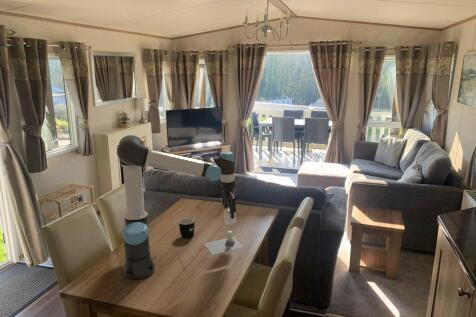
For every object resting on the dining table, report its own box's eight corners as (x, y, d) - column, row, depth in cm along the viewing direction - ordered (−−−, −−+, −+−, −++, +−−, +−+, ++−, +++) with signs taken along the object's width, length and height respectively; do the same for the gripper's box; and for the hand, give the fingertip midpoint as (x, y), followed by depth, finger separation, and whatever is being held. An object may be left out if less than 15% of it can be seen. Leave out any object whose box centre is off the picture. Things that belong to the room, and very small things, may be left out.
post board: (212, 256, 188) (211, 242, 186) (203, 245, 201) (203, 231, 199) (243, 249, 196) (243, 235, 194) (233, 238, 208) (232, 225, 206)
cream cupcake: (226, 225, 193) (226, 213, 191) (222, 221, 198) (222, 209, 196) (237, 223, 195) (236, 211, 193) (232, 219, 200) (232, 207, 199)
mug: (190, 241, 205) (189, 225, 203) (176, 239, 209) (175, 223, 207) (200, 233, 216) (199, 217, 214) (187, 230, 220) (186, 215, 217)
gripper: (241, 184, 184) (243, 226, 189) (227, 175, 201) (229, 213, 206) (228, 186, 181) (230, 229, 186) (214, 177, 198) (217, 216, 203)
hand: (229, 221), depth 196 cm, fingers closed on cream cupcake, 6 cm apart
